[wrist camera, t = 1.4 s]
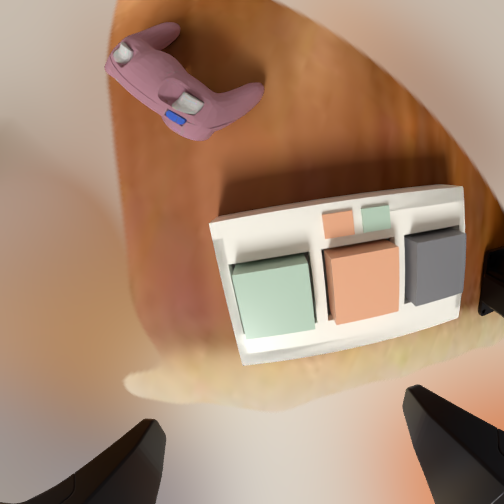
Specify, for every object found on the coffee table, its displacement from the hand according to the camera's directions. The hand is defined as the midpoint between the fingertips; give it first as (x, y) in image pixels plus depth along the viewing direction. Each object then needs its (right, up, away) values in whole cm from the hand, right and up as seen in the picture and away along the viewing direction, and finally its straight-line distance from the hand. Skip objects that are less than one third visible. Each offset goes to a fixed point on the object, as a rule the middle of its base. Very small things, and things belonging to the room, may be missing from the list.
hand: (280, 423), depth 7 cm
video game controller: (-5, +17, +10) cm, 20 cm away
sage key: (+1, +3, +11) cm, 11 cm away
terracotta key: (+6, +4, +10) cm, 12 cm away
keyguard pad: (+6, +4, +12) cm, 14 cm away
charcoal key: (+11, +5, +10) cm, 16 cm away
